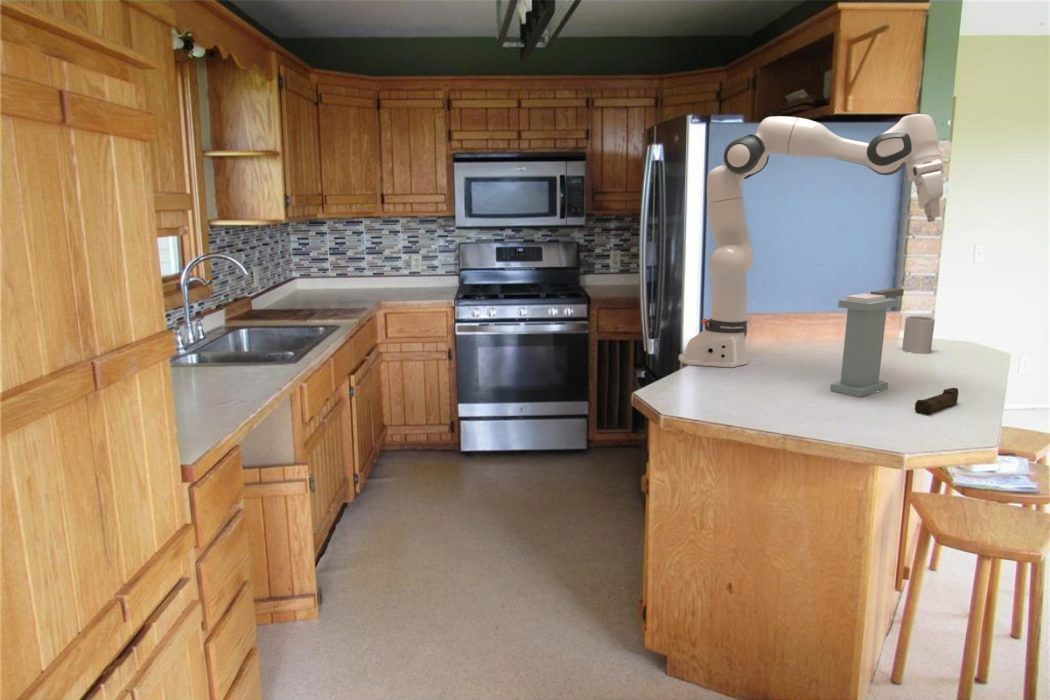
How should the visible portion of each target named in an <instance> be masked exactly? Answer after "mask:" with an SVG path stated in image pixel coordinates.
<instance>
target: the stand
mask: <svg viewBox="0 0 1050 700" xmlns="http://www.w3.org/2000/svg"><path fill="white" fill-rule="evenodd" d="M837 303H838V305H837V307H838V308H842V309H847V313H846V323H845V333H844V334H845V335H844V340H843V341H844V342H843V353H842V363H841V364H842V365H841V373H840V375H841V376H840V380H839V381H837V382H836V381H835V382H833V383H830V387H829V391H830V390H832V391H831V392H834V391H837V392H836V393H838V392H841V393H840V394H843V393H846V394H845V395H847V394H850V395H849V396H852V395H854V396H853V397H856V396H859V397H858V398H860V397H861V398H863V397H862V396H864V397H866V396H865V395H867V396H869V395H868V394H870V395H872V394H871V393H873V394H875V393H874V392H877V391H880V392H882V391H881V390H883V391H885V390H884V389H886V390H888V388H889V387H888V386H889V382H888V381H884V380H880V374H881V365H882V357H883V356H882V355H883V346H884V337H885V327H886V319H887V310H888V309H890V308H896V307H897V306H898V299H897V298H896V299H895V298H885V300H882V301H876V302H870V303H863V302H855V301H847V300H846V298H844V299H838V302H837ZM877 393H878V392H877Z"/></svg>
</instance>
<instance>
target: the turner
mask: <svg viewBox="0 0 1050 700" xmlns="http://www.w3.org/2000/svg"><path fill="white" fill-rule="evenodd" d="M901 296H904V288H895V287H894V288H888V289H882V290H881V289H880V290H876V291H875V290H874V291H870V293H864V292H863V293H859V294H858V293H857V294H852V295H851V294H850V295H845V299H846V300H847V301H855V302H863V303H870V302H876V301H882V300H885V298H889V299H891V298H895V297H901Z"/></svg>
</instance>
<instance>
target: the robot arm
mask: <svg viewBox="0 0 1050 700" xmlns="http://www.w3.org/2000/svg"><path fill="white" fill-rule="evenodd" d="M772 154H780V155H786V156H793V157H799V158H800V157H801V158H817V159H818V158H820V159H821V158H822V159H834V160H839V161H844V162H849V163H853V164H859V165H862V166H865V167H867V168H869V169H871V171H873V172H874V173H876V174H878V175H881V176H891V175H894V174H897V173H898V172H900V171H901V170H902V169H903V168H904V167H905V168H906V172H907V178H908V181H909V182H914V186H915V187H916V188H915V189H916V194H917V203H918V207H919V209H921V210H922V209H924V213H925V216H926V220H927V222H928V223H932V222H935V220H936V218H939V217H940V216H941V211H940V199H941V198H942V197H943V196H944V183H943V175H944V173H945V169H944V163H943V158H942V153H941V152H940V150H939V137H938V132H937V127H936V125H935V122H934V120H933V117H932V116H931V115H929V114H928V113H927V114H926V113H922V112H921V113H918V112H917V113H912V114H907V115H905V116H903V117H901V118H900V120H899V121H898V122H897V123H896V124H894V125H893V126H892V127H890V128H889V129H887V130H886V131H884V132H882V133H881V134H878V135H876V136H875V137H873V138H872V139H871V140H870V142H864V141H858V140H854V139H849V138H845V137H842V136H839V135H837V134H835V133H834V132H832V131H831V130H830V129H828V127H826V126H825V125H823V124H822V123H820V122H818V121H814V120H811V119H809V118H803V117H797V116H785V115H784V116H782V115H779V116H777V115H776V116H773V115H772V116H768V117H765V118H764V119H763V120H761V122H760V123H759V125H758V127H757V130H756V133H755V134H754V133H749V134H747V135H744V136H742V137H738V138H736V139H735V140H733V141H731V142H730V143H729V144H728V145H726V148H725V150H724V153H723V162H724V164H723V165H719V166H716V167H714V168H713V169H711V170H710V171H709V172H708V173H707V179H706V200H707V208H708V218H709V225H710V230H711V232H712V234H713V238H714V242H715V246H716V249H715V250H714V251H713V253H712V254H711V256H710V259H709V268H710V280H711V282H710V283H711V290H712V298H711V299H712V301H711V303H712V304H711V318H709V319H707V318H706V317H705V318H703V319H701V323H702V324H703V325H704V329H703V331H701V332H699V333H698V334H697V335H694V337H692V338H690V339H689V341H688V342H687V344H686V348H685V352H682V353H680V354H679V355H678V361H680V362H681V363H682V364H685V365H687V366H689V365H690V366H701V367H702V366H703V367H704V366H705V367H720V368H736V367H738V366H743V365H747V364H748V363H749V360H748V356H747V355H748V354H747V347H746V344H747V343H746V338H747V334H748V320H747V308H748V293H747V282H746V281H747V279H746V275H747V273H748V272H750V270H751V268H752V267H753V265H754V262H755V261H754V259H755V258H754V257H755V256H754V255H755V254H754V253H753V248H752V243H751V238H750V233H749V230H748V227H747V226H748V225H747V220H746V211H745V205H744V203H745V202H744V198H743V197H744V195H743V181H744V180H747V179H749V178H751V177H752V176H754V175H756V174H758V173H761V171H763V170H764V169H765V168H766V166H767V165H768V162H769V160H770V159H769V158H770V155H772Z"/></svg>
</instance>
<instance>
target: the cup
mask: <svg viewBox="0 0 1050 700" xmlns="http://www.w3.org/2000/svg"><path fill="white" fill-rule="evenodd" d="M904 320H905V321H904V331H903V339H902V347H901V351H902V350H903V351H902V352H905V351H907V352H906V353H909V352H911V353H910V354H917V355H919V354H920V355H929V354H931V352H932V347H933V337H934V331H935V330H934V329H935V320H936V319H935V318H933V317H929V316H921V315H920V316H917V315H915V316H914V315H909V316H906V317H905V319H904Z"/></svg>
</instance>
